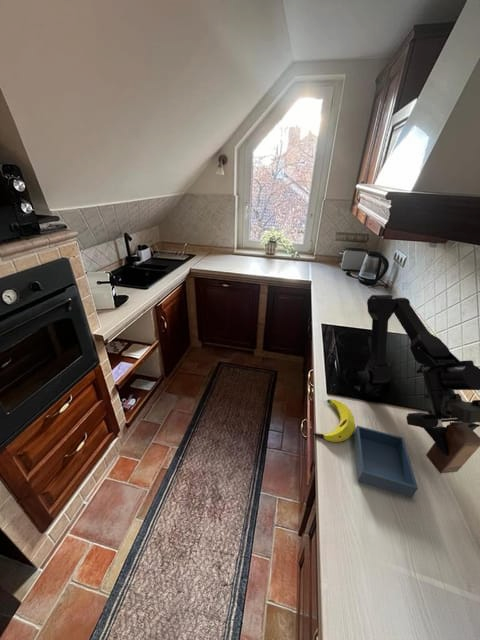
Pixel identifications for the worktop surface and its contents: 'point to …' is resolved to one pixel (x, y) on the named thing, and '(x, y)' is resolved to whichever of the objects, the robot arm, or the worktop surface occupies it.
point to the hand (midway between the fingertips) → (455, 454)
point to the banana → (345, 424)
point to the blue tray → (383, 461)
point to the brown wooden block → (455, 448)
